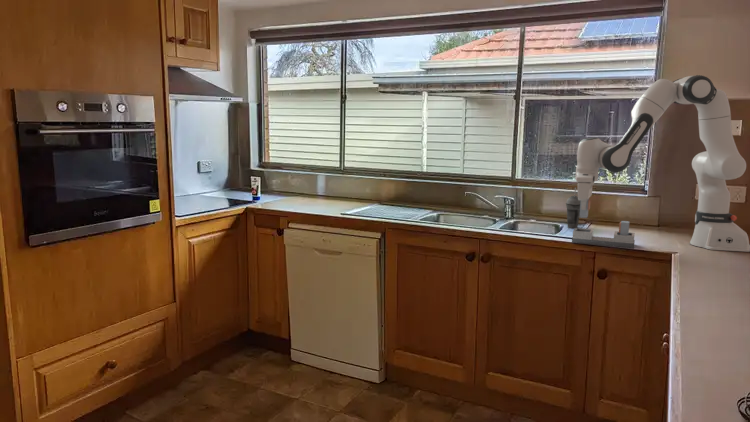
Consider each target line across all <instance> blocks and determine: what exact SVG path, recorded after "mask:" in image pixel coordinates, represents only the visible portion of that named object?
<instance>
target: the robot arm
mask: <svg viewBox="0 0 750 422" xmlns="http://www.w3.org/2000/svg"><path fill="white" fill-rule="evenodd" d="M672 104H677V105H694V106H695V108H696V110H697V115H698V117H697V119H698V133H699V134H698V135H699V139H700V141H701V142H702V144H703V145H704V148H705V150H706V151H705V150H704V151H702V152H699V153H697V154H696V155H695V156H694V157H693V158H692V160H691V168H692V170H693V171H694V173H695V176H696V182H697V186H698V187H697V188H698V200H697V209H696V211H695V215H694V224H695V225H694V230H693V233H692V237H691V238H690V241H689V244H690V245H692V246H695V247H700V248H704V249H707V250H710V251H711V250H712V251H725V252H726V251H727V252H729V251H730V252H744V253H745V252H747V253H750V241H749V236H748V234H747V232H746V231H745V230H743V228H741V227H740V226H739V225H737V224H736V223H734V222H735V221H737V219H738V217H737V215H734V214H732V213H731V212H730V206H731V205H730V204H731V192H730V190H729V189H728V187H727V182H726V181H729V180H735V179H737V178H738V179H739V178H740V177H742V176H743V175H744V173H745V172H746V169H747V162H746V160H745V159H744V157H743V156H742V155H741V154H740V152H739V150H738V147H737V145H736V142H735V138H734V136H733V135H734V133H733V128H732V114H731V113H732V111H731V105H730V102H729V97H728V94H727V93H726V91H724V90H723V89H719V88H718V89H717V88H716V87H715V85H714V83H713V81H712V80H711V79H710V78H709V77H708V76H705V75H700V74H699V75H698V74H697V75H688V76H685V77H681V78H678V79H676V80H671V79H667V78H659V79H658V80H656V81H655V82H653V83H652V84H651V85H650V86H649V87H648V88H647V89H646V90H645V91H644V92H643V93H642V95H641V96H639V98H638V99H637V101H636V102H635V104H634V105H633V107H632V109H631V112H630V116H631V124H630V126H629V128H628V129H627V131H626V132H625V134H624V135H623V137H622V138H621V139H620V140H619V142H618V143H617V144H616V145H612V144H608V143H607V142H604V141H603V140H601V139H600V138H599V137H590V138H589V137H587V138H584V139H581V140H580V141H579V142H578V146H577V152H576V153H577V154H576V161H577V163H576V164H577V165H576V168H575V180H574V181H576V183H577V197H578V200H581V209H582V210H586V203H587V200H588V199H589V200H590V198H591V197H592V196H593V195H592V194H593V186H594V185H595V182H597V181H598V180H599V169H600V168H603V169H606V170H607V171H609V172H612V173H619V172H622V171H624V170H626V169H628V167H629V165H630V163H631V159H632V155H633V153H634V151H635V150H636V148H637V147H638V145H639V144H640V143H641V141H642V140H643V138H644V137H645V136H646V135H647V133H648V132H649V130H650V129H651V128H652V127H653V126H654V125H655V123H656V122H658V120H659V119H661V117H662V115H664V113H665V112H666V110H667V109H668V108H669V107H670V106H671V105H672Z"/></svg>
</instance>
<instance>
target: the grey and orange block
mask: <svg viewBox="0 0 750 422" xmlns="http://www.w3.org/2000/svg"><path fill="white" fill-rule="evenodd" d="M590 209H591V199H590V198H589V199H588V200H587V203H586V210H582V209H581V202H580V215H579V219H580V218H582V219H588V217H589V211H590Z"/></svg>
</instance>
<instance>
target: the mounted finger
mask: <svg viewBox="0 0 750 422" xmlns="http://www.w3.org/2000/svg"><path fill="white" fill-rule="evenodd" d="M629 230H630V220H629V221H627V220H621V221H620V222H619V226H618V232H619V233H620V235H628V234H629Z"/></svg>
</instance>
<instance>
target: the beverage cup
mask: <svg viewBox="0 0 750 422" xmlns="http://www.w3.org/2000/svg"><path fill="white" fill-rule="evenodd" d="M576 191H577V187H574V194H573V195H572V196H569V197H568V198H567V199H566V203H565V206H566V207H565V208H566V221H567V222H566V223H567V228H568V229H575V228H578V225H579V221H580V218H579V216H580V202H581V200H578V195H576V193H577V192H576Z"/></svg>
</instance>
